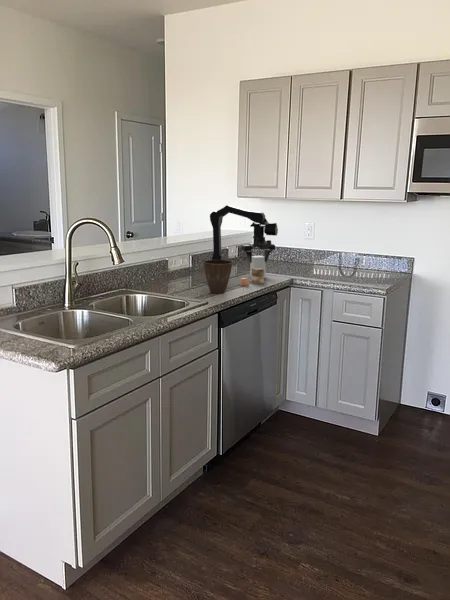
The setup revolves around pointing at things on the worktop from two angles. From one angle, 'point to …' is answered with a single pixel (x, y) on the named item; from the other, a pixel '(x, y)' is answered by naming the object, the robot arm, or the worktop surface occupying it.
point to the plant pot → (217, 274)
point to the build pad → (257, 284)
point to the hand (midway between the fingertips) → (258, 262)
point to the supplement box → (258, 263)
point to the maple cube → (258, 279)
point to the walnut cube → (257, 272)
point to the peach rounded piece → (244, 281)
